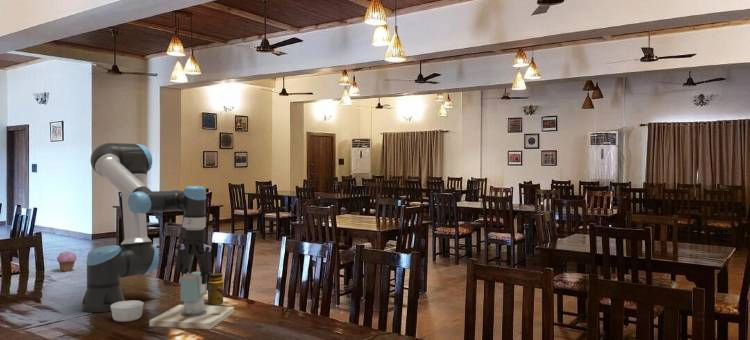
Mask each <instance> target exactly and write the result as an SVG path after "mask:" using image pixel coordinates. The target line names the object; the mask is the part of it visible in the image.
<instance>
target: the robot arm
mask: <svg viewBox="0 0 750 340" xmlns="http://www.w3.org/2000/svg"><path fill="white" fill-rule="evenodd" d="M90 165H91V168H92V169H93V171H94V172H96V174H98V176H100V177H104V178H106V179H107V180H108V181H109V182H110V183H111V184H112V185H113V186H114V187H115V188H116V189H117V190H118V191H119V192H120V193H121V203H122V216H123V218H122V219H123V220H122V221H123V233H124V239H123V241H122V242H121V243H120V245H116V244H114V245H111V244H110V245H104V246H100V247H96V248H92V249H91V250H90V251H89V252H88V253H87V257H86V290H85V293H84V296H83V299H82V302H81V311H83V312H87V313H104V312H106V313H107V312H112V311H111V308H110V307H111V305H112V304H114V303H116V302H121V301H126V300H125V298H124V297H125V296H124V294H123V291H122V288H121V279H124V278H130V277H134V276H144V275H147V274H150V273H152V272H154V271H155V269H157V266H158V264H159V261H160V260H159V258H160V254H159V250H158V248H157V246H156V245H155V244H152V243H153V242H152V240H151V239H150V238H149V236H148V230H147V229H148V227H147V225H148V224H147V213H149V214H150V213H159V212H160V213H161V212H165V213H166V212H177V211H178V212H180V211H181V212H183V228H184V230H183V239H184V241H183V243H180V244H177V245H176V248H177V261H176V263H177V265H176V272H179V273H181V277H182V276H186V275H188V274H190V271H189V268H190V266H191V261H192V258H193V256H195V258H196V260H197V264H198V268H199V272H200V273H201V274H200V275H199V294H201V293H204V292H205V284H206V283H207V284H208V275H210V274H212V273H213V265H212V264H213V263H212V262H213V261H212V259H213V258H212V251H213V246H212V245H207V244H206V241H205V240H206V234H207V233H206V232H207V231H206V229H205V228H206V227H207V226H206V224H207V223H206V222H207V221H206V219H207V218H206V213H207V193H206V192H207V189H206V187H204V186H201V185H188V186H185V187H184V190H178V189H171V190H165V191H164V190H163V191H162V190H155V191H152V190H151V189H150V188H149V187H147V185H145V181H144V179H146V177H147V176H148V172H149V171H150V170H151V169H152V165H153V156H152V153H151V151H150V150H149V148H148V147H147V146H145V145H144V144H142V143H141V144H140V143H139V144H138V143H134V142H133V143H122V142H121V143H120V142H119V143H118V142H105V143H103V144H100V145H98V146H97V147H96V148H94V150H93V151H92V153H91V156H90Z"/></svg>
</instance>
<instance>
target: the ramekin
mask: <svg viewBox="0 0 750 340" xmlns="http://www.w3.org/2000/svg"><path fill="white" fill-rule="evenodd" d="M144 307H145V303H144V302H143V301H141V300H131V299H130V300H125V301H121V302H116V303H114V304H112V305H111V307H110V308H111V311H110V312H111V315H112V320H114V321H115V322H124V323H125V322H132V321H137V320H139V319H141V317H142V315H143V310H144Z"/></svg>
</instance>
